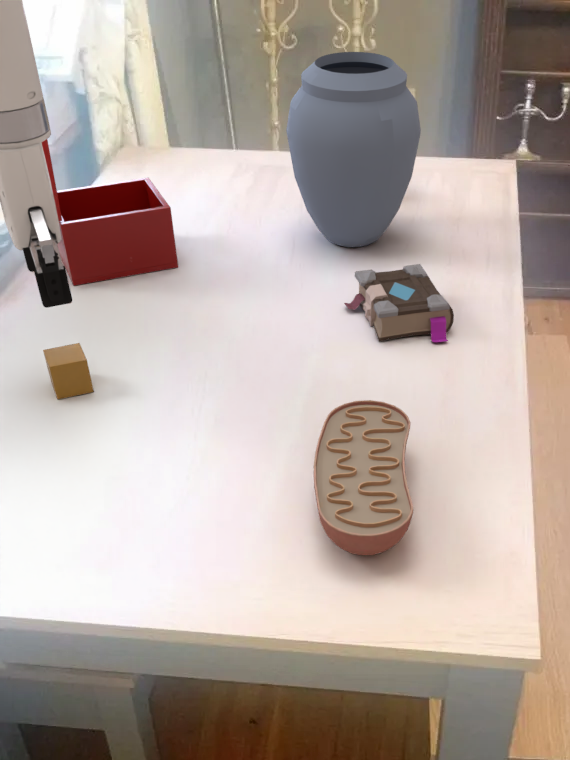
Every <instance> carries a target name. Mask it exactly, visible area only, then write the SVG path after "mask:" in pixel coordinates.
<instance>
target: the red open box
mask: <svg viewBox="0 0 570 760" xmlns="http://www.w3.org/2000/svg"><path fill="white" fill-rule="evenodd" d="M57 195H58V200H59V206H60V211H61V217H62V221H59V226H60V232H61V241H60V242H59V243H58V244H57V246H58V250H59V253H60V256H61V260H62V263H63V265H64V266H65V269H66V274H67V276H68V277H69V279H70V281H71V284H72V285H73V286H74V287H75V286H80V285H86V284H91V283H97V282H102V281H103V282H104V281H109V280H114V279H119V278H125V277H131V276H138V275H142V274H148V273H149V274H150V273H154V272H160V271H164V270H172V269H176V268H177V269H178V268H179V263H178V262H179V261H178V254H177V247H176V246H177V245H176V238H175V231H174V224H173V216H172V208H171V206H170V205H169V203H168V202H167V200H166V199H165V198H164V196H163V195H162V193H161V192H160V191H159V189H158V188H157V187H156V186H155V184H154V183H153V181H152V180H151V178H150V177H148V176H147V177H141V178H135V179H134V178H133V179H127V180H120V181H113V182H108V183H107V182H106V183H100V184H93V185H87V186H79V187H74V188H73V187H72V188H66V189H59V190H57Z"/></svg>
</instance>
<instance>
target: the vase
mask: <svg viewBox="0 0 570 760" xmlns="http://www.w3.org/2000/svg"><path fill="white" fill-rule="evenodd" d="M300 79H301V86H300V87H299V89H297V91H296V93H294V95H293V97H292V98H291V101H290V105H289V111H288V117H287V123H286V130H285V131H286V132H285V133H286V136H287V143H288V149H289V153H290V159H291V165H292V170H293V175H294V179H295V182H296V184H297V187H298V190H299V193H300V195H301V198H302V201H303V204H304V206H305V209H306V211H307V213H308V215H309V216H310V218H311V219H312V222H313V223H314V224H315V226H316V228H317V229H318V232H320V233H321V234H322V235H323V237H324V238H325V239H326V240H327V241H328V242H329V243H332V244H334V245H336V246H337V245H338V246H339V247H345V248H361V247H365V246H369V245H371V244H373V243H376V242H377V241H378V240H379V239H380V238H381V237H382V235H384V234H385V232H386V231H387V230H388V228H389V226H390V225H391V223H392V222H393V220H394V219H395V217H396V216H397V214H398V212H399V210H400V208H401V205H402V203H403V200H404V199H405V198H404V197H405V195H406V192H407V190H408V188H409V185H410V183H411V180H412V178H413V174H414V168H415V163H416V158H417V153H418V149H419V143H420V138H421V134H422V133H421V130H422V128H421V121H420V115H419V106H418V101H417V99H416V98H415V96H414V95H413V93H412V92H411V90H410V89H409V88H408V86H407V80H408V73H407V72H406V71H405V70H404V69H403V68H401V67H400V66H399V65H398V64H397V63H396V62H395V61H394V60H393V59H392V58H390V57H389V56H386V55H383V54H379V53H374V52H366V51H342V52H334V53H329V54H328V53H327V54H325V55H322V56H320V57H318V58H316V59H315V61H313V62H312V63H311V64H310V65H308V66H307V67H306V68H305V69H304V70H303V71H302V72H301V74H300Z"/></svg>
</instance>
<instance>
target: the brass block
mask: <svg viewBox="0 0 570 760" xmlns="http://www.w3.org/2000/svg"><path fill="white" fill-rule="evenodd" d="M42 352H43V356H44V361H45V364H46V368H47V371H48V375H49V379H50V383H51V386H52V388H53V391H54V394H55V397H56V399H57V400H62V399H68V398H72V397H77V396H80V395H86V394H90V393H91V394H92V393H94V392H95V391H94V385H93V382H92V377H91V373H90V368H89V364H88V359H87V357H86V354H85V352H84V350H83V347H82V345H81V343H80V342H77V343H71V344H66V345H61V346H55V347H51V348H46V349H42Z"/></svg>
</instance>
